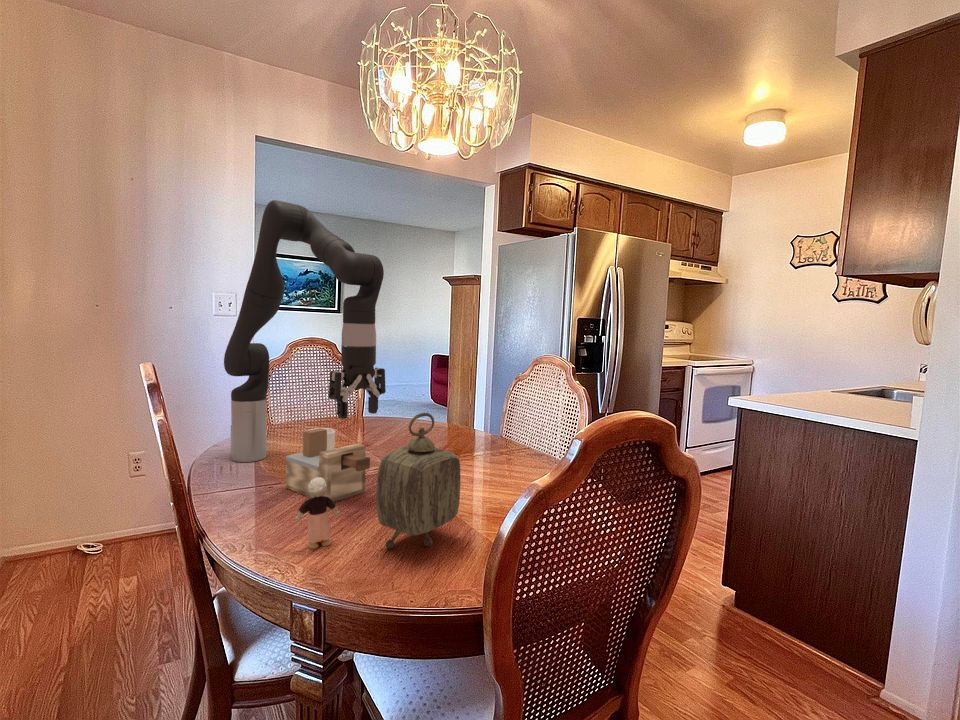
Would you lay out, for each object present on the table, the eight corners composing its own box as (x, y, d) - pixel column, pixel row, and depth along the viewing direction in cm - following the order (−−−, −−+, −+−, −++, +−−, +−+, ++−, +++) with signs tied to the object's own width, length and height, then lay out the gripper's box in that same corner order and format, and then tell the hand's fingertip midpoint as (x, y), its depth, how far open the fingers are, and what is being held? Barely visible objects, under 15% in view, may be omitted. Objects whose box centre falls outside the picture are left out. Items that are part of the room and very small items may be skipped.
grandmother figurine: (331, 535, 99) (332, 471, 98) (340, 542, 96) (341, 477, 95) (292, 546, 94) (292, 479, 93) (300, 554, 91) (300, 484, 90)
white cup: (326, 471, 138) (326, 435, 137) (299, 469, 140) (300, 433, 139) (339, 463, 146) (340, 429, 145) (314, 461, 147) (314, 427, 146)
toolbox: (285, 488, 124) (285, 442, 123) (323, 477, 133) (324, 434, 132) (326, 504, 115) (327, 454, 114) (364, 492, 123) (365, 445, 122)
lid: (285, 460, 124) (285, 431, 123) (324, 451, 132) (324, 424, 132) (318, 471, 116) (318, 440, 115) (356, 461, 125) (356, 432, 124)
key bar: (325, 460, 121) (325, 450, 120) (336, 458, 123) (336, 448, 123) (358, 471, 114) (358, 460, 113) (369, 468, 116) (370, 457, 116)
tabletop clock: (426, 524, 106) (430, 405, 103) (461, 537, 100) (466, 411, 98) (375, 549, 94) (377, 415, 92) (412, 565, 89) (415, 423, 86)
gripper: (371, 342, 122) (370, 409, 123) (321, 343, 110) (321, 417, 112) (394, 344, 117) (392, 413, 119) (343, 345, 106) (343, 422, 107)
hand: (358, 415), depth 115 cm, fingers open, 8 cm apart
